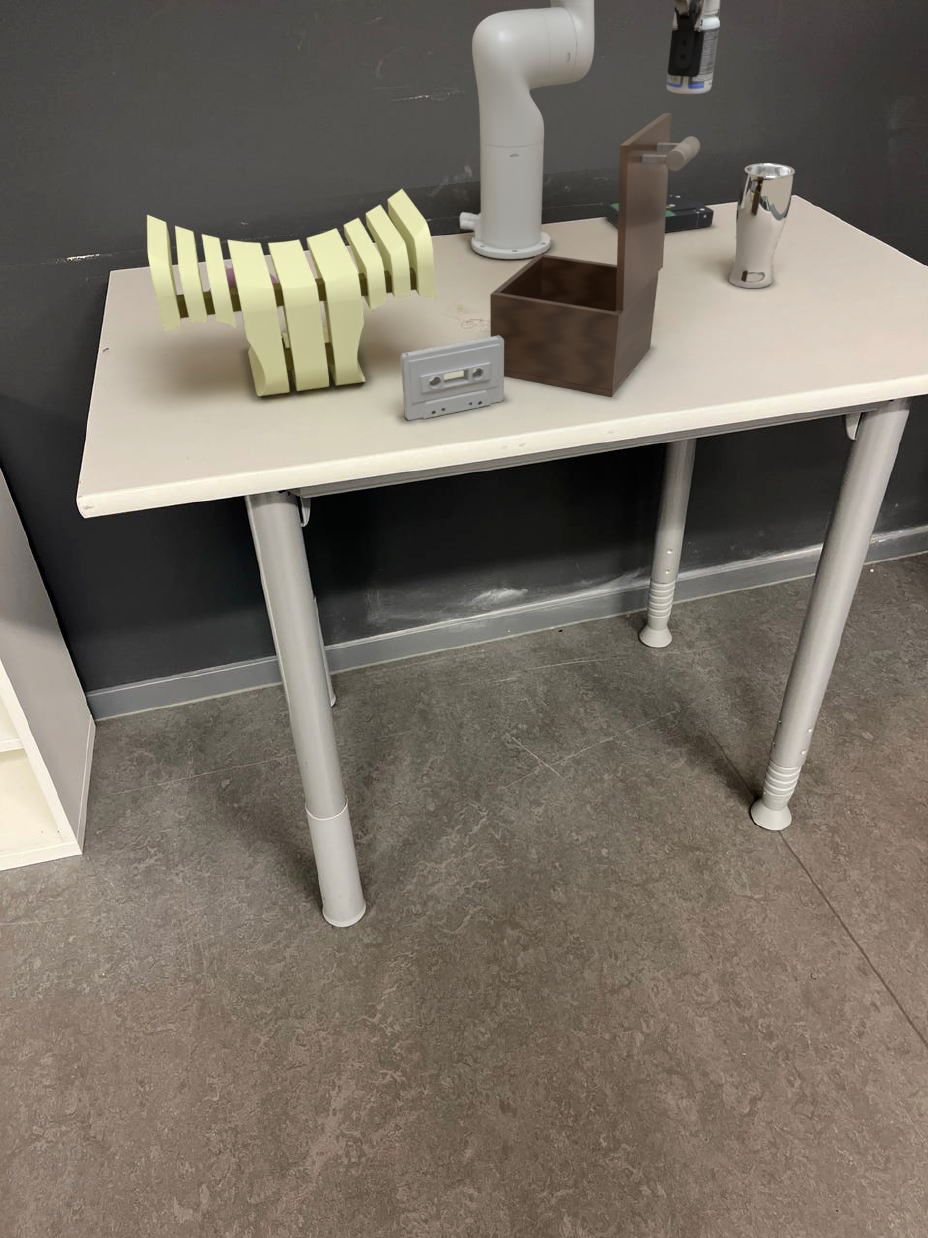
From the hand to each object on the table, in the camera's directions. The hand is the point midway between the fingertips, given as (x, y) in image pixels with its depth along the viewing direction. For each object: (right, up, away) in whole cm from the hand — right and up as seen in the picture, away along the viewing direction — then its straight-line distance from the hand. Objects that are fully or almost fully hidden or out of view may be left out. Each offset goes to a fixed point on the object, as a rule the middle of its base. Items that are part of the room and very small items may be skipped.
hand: (690, 68), depth 97 cm
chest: (-10, -26, +18) cm, 33 cm away
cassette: (-25, -34, +9) cm, 43 cm away
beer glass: (+18, -9, +37) cm, 42 cm away
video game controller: (-55, -15, +33) cm, 66 cm away
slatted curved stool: (-43, -27, +18) cm, 54 cm away
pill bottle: (0, -2, +1) cm, 2 cm away
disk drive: (+9, +8, +57) cm, 59 cm away
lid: (-5, -13, +4) cm, 15 cm away
